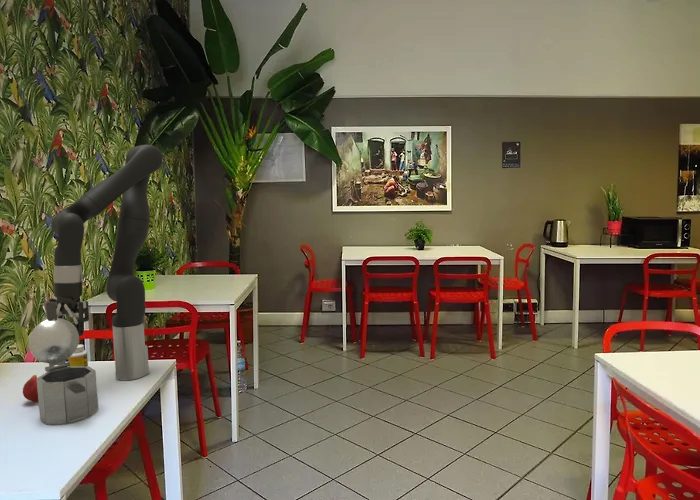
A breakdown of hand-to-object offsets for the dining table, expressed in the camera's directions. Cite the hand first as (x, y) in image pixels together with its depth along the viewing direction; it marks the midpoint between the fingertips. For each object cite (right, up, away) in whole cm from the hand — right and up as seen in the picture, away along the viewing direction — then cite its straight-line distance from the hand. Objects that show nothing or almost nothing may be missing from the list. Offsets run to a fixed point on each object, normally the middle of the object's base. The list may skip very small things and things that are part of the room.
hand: (68, 334), depth 156 cm
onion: (-6, -19, -6) cm, 21 cm away
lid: (+2, +1, -11) cm, 12 cm away
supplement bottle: (-4, -16, +14) cm, 22 cm away
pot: (+8, -19, -14) cm, 25 cm away
